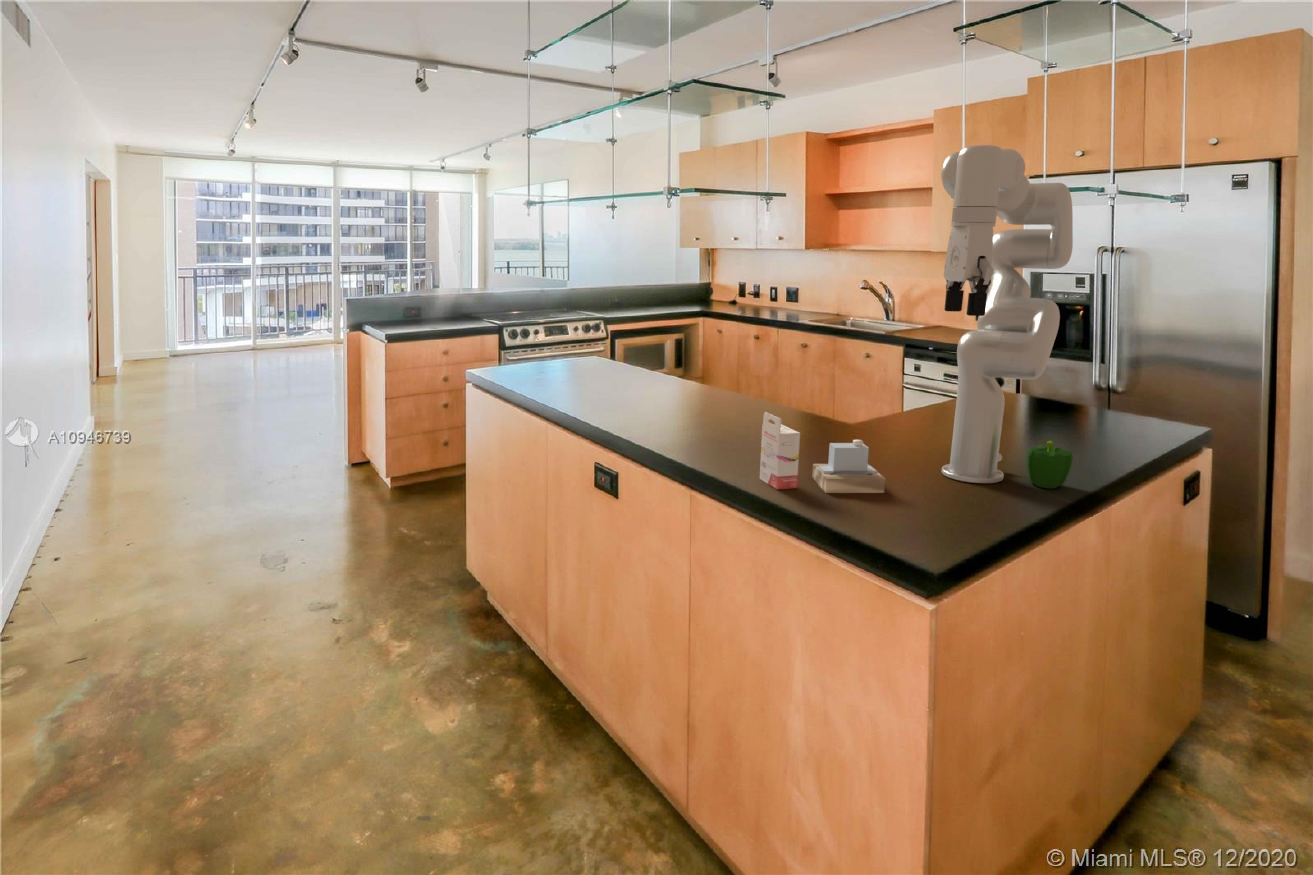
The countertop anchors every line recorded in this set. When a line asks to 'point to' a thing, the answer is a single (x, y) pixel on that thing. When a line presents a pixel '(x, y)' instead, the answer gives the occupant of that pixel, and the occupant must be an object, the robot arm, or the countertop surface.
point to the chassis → (848, 482)
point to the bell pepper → (1048, 465)
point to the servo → (848, 459)
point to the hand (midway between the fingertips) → (963, 313)
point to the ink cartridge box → (779, 454)
